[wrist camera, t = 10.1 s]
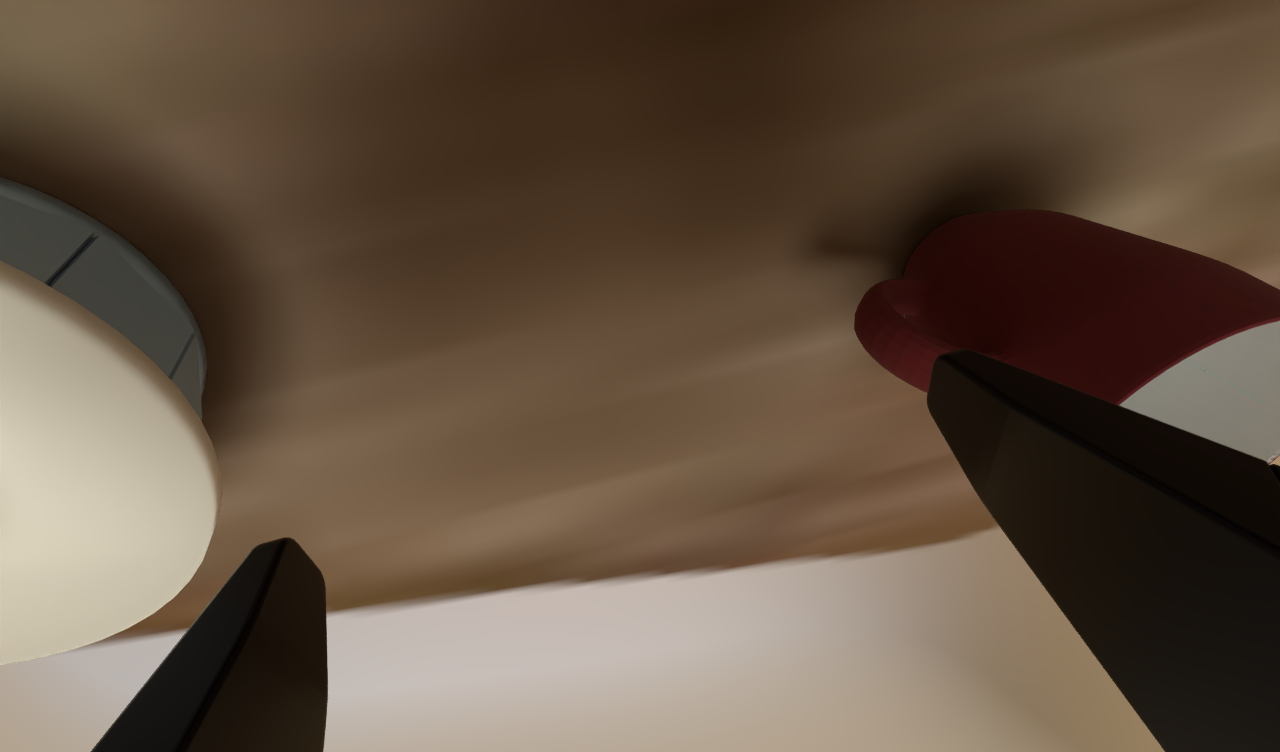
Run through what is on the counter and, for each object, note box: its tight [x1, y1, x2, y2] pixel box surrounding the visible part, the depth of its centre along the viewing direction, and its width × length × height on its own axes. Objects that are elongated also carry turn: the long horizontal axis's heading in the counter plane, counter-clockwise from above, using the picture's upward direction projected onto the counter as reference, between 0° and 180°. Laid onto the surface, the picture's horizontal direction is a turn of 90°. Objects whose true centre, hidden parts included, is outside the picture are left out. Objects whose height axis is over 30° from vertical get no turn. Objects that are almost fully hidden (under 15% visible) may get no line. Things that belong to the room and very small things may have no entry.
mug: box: [854, 209, 1280, 464], centre depth 20 cm, size 11×8×10 cm
